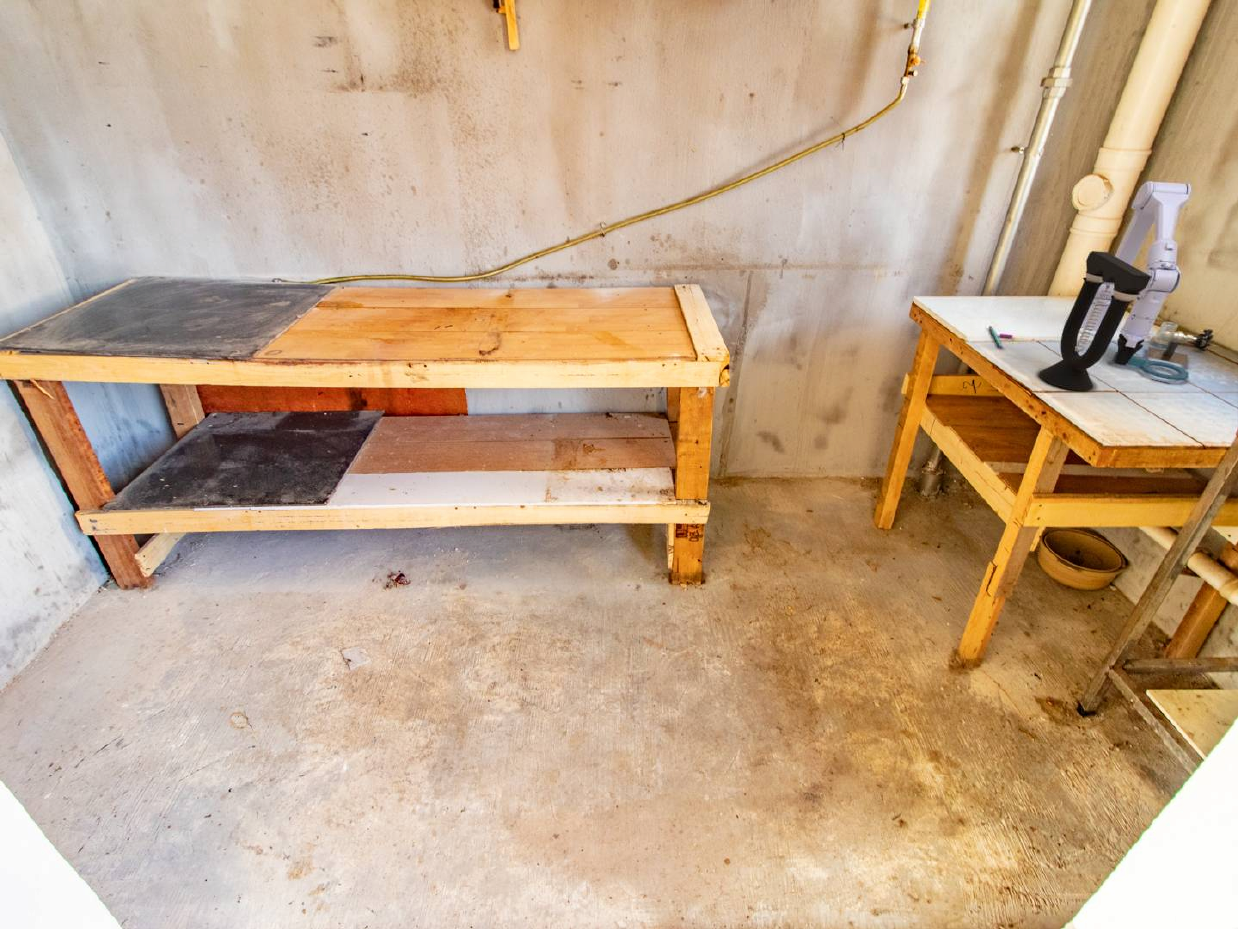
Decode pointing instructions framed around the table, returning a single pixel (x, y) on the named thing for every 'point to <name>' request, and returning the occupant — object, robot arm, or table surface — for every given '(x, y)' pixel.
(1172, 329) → the valve
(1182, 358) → the ring stand
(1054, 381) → the spring support
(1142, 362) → the ring
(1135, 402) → the table surface
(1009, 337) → the squeegee
